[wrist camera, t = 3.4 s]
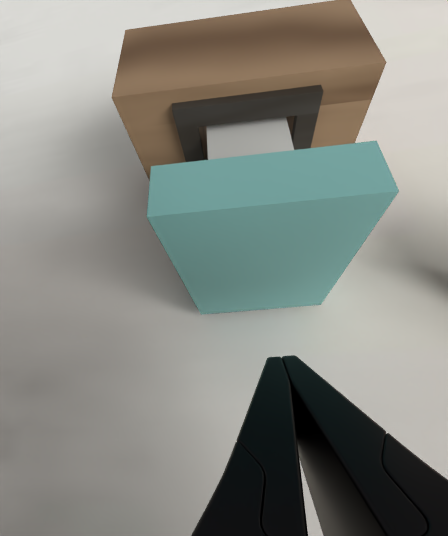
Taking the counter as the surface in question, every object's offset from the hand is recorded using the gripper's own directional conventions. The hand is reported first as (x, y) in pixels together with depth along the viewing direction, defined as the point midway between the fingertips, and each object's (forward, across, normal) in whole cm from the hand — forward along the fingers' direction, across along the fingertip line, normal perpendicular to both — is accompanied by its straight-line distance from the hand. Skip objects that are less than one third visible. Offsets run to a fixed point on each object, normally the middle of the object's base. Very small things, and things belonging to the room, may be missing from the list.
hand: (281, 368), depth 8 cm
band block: (+15, 0, -5) cm, 16 cm away
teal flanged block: (+11, 0, -1) cm, 11 cm away
